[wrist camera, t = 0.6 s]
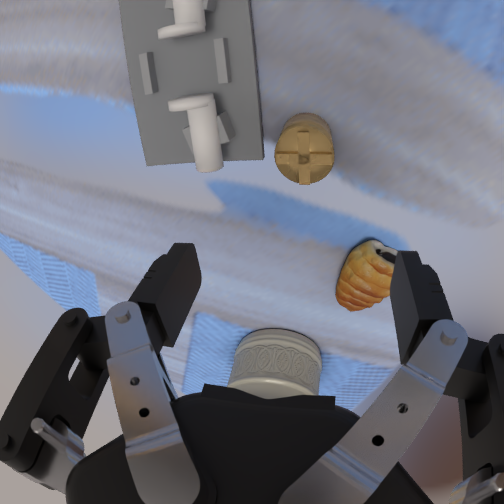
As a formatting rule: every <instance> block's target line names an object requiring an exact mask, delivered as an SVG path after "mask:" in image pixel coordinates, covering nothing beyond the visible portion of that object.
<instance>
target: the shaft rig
mask: <svg viewBox="0 0 504 504" xmlns="http://www.w3.org/2000/svg"><path fill="white" fill-rule="evenodd" d="M119 5H120V14H121V23H122V31H123V38H124V46H125V53H126V59H127V66H128V72H129V78H130V84H131V90H132V96H133V101H134V107H135V112H136V117H137V122H138V127H139V132H140V136H141V141H142V147H143V151H144V156H145V160H146V165H147V166H154V165H166V164H178V163H194V162H195V163H196V169H197V171H198V172H202V173H203V172H204V173H207V172H213V171H217V170H220V169H221V168H222V167H223V161H238V160H263V158H264V144H263V131H262V120H261V108H260V97H259V86H258V75H257V64H256V54H255V43H254V33H253V24H252V14H251V4H250V0H119Z"/></svg>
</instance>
